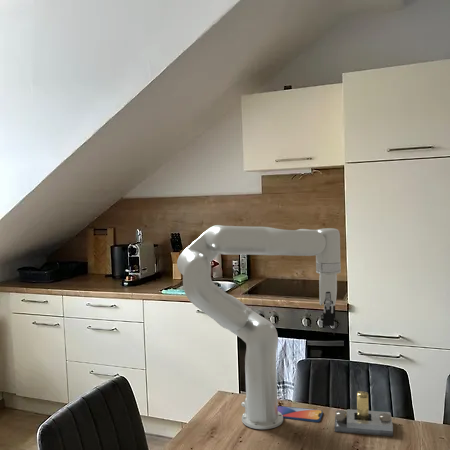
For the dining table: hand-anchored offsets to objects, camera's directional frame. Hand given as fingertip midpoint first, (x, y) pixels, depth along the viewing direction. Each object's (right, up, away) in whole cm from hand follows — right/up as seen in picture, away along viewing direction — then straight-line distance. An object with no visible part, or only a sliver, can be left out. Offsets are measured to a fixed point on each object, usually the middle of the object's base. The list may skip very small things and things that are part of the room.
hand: (329, 321), depth 156 cm
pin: (+8, -29, -11) cm, 32 cm away
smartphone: (-10, -29, -1) cm, 31 cm away
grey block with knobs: (+8, -29, -11) cm, 32 cm away
